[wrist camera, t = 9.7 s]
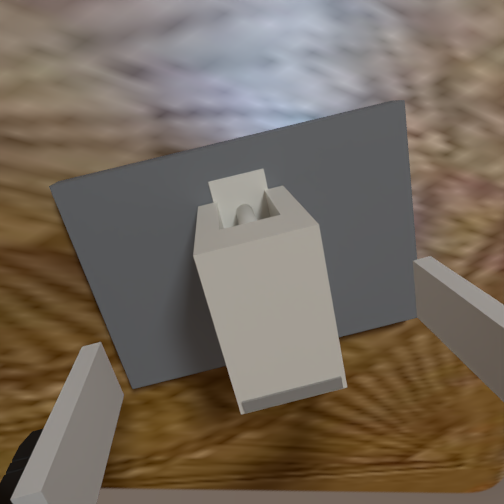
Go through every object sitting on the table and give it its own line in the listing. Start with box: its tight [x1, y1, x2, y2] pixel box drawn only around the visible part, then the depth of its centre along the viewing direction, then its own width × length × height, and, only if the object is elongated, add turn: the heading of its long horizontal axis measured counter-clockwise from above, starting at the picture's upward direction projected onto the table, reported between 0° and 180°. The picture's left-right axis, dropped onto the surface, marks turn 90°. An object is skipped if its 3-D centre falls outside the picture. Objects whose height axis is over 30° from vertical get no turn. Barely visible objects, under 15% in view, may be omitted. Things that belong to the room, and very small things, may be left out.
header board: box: [49, 100, 417, 389], centre depth 23 cm, size 20×14×6 cm
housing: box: [193, 186, 347, 415], centre depth 21 cm, size 5×8×8 cm, turn 13°
